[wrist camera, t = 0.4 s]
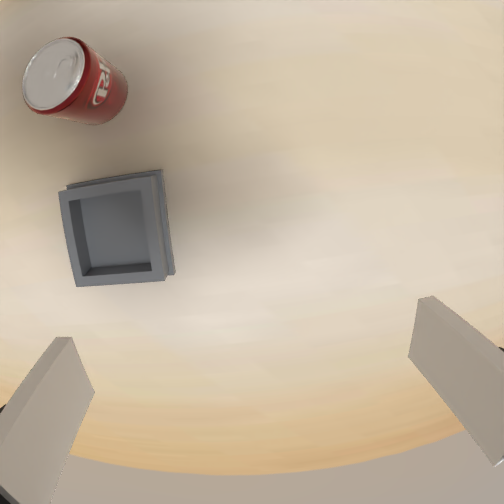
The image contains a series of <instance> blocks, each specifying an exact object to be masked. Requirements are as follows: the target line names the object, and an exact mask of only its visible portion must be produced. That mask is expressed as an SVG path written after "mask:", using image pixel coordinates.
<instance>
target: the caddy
mask: <svg viewBox="0 0 504 504" xmlns="http://www.w3.org/2000/svg"><path fill="white" fill-rule="evenodd" d="M66 187H67V190H64V191H60V192H58V194H59V201H60V208H61V215H62V221H63V227H64V233H65V238H66V243H67V248H68V253H69V258H70V262H71V267H72V271H73V275H74V280H75V284H76V287H84V286H100V285H114V284H129V283H142V282H156V281H165V279H166V277H167V275H174V274H175V266H174V260H173V253H172V245H171V238H170V230H169V222H168V214H167V205H166V196H165V187H164V176H163V170H156V171H149V172H142V173H135V174H128V175H122V176H116V177H110V178H104V179H98V180H93V181H87V182H82V183H77V184H72V185H67V186H66Z"/></svg>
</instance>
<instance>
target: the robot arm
mask: <svg viewBox="0 0 504 504" xmlns="http://www.w3.org/2000/svg"><path fill="white" fill-rule="evenodd" d="M408 358H409V359H410V360H411V361H412V362H413V363H414V365H415V366H416V367H417V368H418V370H419V371H420V372H421V373H422V374H423V376H424V377H425V378H426V379H427V380H428V382H429V383H430V384H431V385H432V387H433V388H434V389H435V390H436V392H437V393H438V394H439V395H440V397H441V398H442V399H443V400H444V402H445V403H446V404H447V405H448V407H449V408H450V409H451V410H452V412H453V413H454V414H455V416H456V417H457V418H458V419H459V421H460V422H461V423H462V425H463V426H464V427H465V429H466V430H467V431H468V432H469V434H470V435H471V436H472V438H473V439H474V440H475V442H476V443H477V444H478V446H479V447H480V448H481V450H482V451H483V453H484V454H485V455H486V457H487V458H488V459H489V461H490V462H491V463H492V465H493V466H494V467H495V466H497V465H498V464H499V463H501V462H502V461H504V349H503V348H501V347H497V346H496V345H495V344H494V343H492V342H491V341H490V340H489V339H488V338H486V337H485V336H484V335H483V334H482V333H480V332H479V331H478V330H477V329H475V328H474V327H473V326H472V325H470V324H469V323H468V322H467V321H465V320H464V319H463V318H462V317H460V316H459V315H458V314H456V313H455V312H454V311H453V310H451V309H450V308H449V307H447V306H446V305H445V304H444V303H442V302H441V301H440V300H438V299H437V298H436V297H434V296H430V297H425V298H421V299H418V305H417V311H416V318H415V323H414V329H413V334H412V340H411V345H410V349H409V354H408ZM94 393H95V391H94V389H93V387H92V385H91V383H90V380H89V378H88V376H87V374H86V371H85V369H84V367H83V364H82V362H81V359H80V357H79V354H78V352H77V349H76V347H75V344H74V342H73V339H72V337H56V338H55V339H54V340H53V342H52V343H51V344H50V345H49V347H48V348H47V349H46V351H45V352H44V353H43V355H42V356H41V357H40V358H39V360H38V361H37V362H36V364H35V365H34V366H33V368H32V369H31V370H30V372H29V373H28V375H27V376H26V377H25V379H24V380H23V381H22V383H21V384H20V386H19V387H18V388H17V390H16V391H15V393H14V394H13V396H12V397H11V399H10V400H9V401H8V403H7V404H5V405H4V406H3V407H1V408H0V504H50V503H51V500H52V497H53V495H54V492H55V489H56V486H57V483H58V480H59V477H60V475H61V472H62V470H63V467H64V465H65V462H66V459H67V457H68V454H69V452H70V449H71V447H72V444H73V442H74V439H75V437H76V435H77V432H78V430H79V427H80V425H81V423H82V420H83V418H84V416H85V414H86V411H87V409H88V407H89V404H90V402H91V400H92V398H93V396H94Z"/></svg>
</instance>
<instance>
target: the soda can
mask: <svg viewBox="0 0 504 504" xmlns="http://www.w3.org/2000/svg"><path fill="white" fill-rule="evenodd" d="M22 90H23V97H24V100H25V102H26V104H27V106H28V107H29V108H30V109H31V110H32V111H34V112H35V113H37V114H42V115H47V116H52V117H57V118H62V119H66V120H71V121H76V122H80V123H85V124H89V125H98V124H103V123H105V122H107V121H109V120H111V119H112V118H113V117H115V116H116V115H117V114H118V113H119V111H120V110H121V109H122V107H123V105H124V103H125V101H126V98H127V93H128V86H127V81H126V79H125V77H124V75H123V74H122V73H121V72H120V71H119V70H118V69H117V68H115V67H114V66H113V65H112V64H111V63H109V62H108V61H107V60H106V59H104V58H103V57H102V56H101V55H99V54H98V53H97V52H96V51H94V50H93V49H92V48H90V47H89V46H88V45H87V44H85V43H84V42H83V41H81V40H80V39H77V38H75V37H62V38H58V39H55V40H53V41H51V42H49V43H48V44H46V45H45V46H43V47H42V48H41V49H40V50H39V51H38V52H37V53H36V54H35V55H34V56H33V58H32V59H31V60H30V62H29V64H28V66H27V68H26V70H25V73H24V77H23V83H22Z"/></svg>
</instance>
